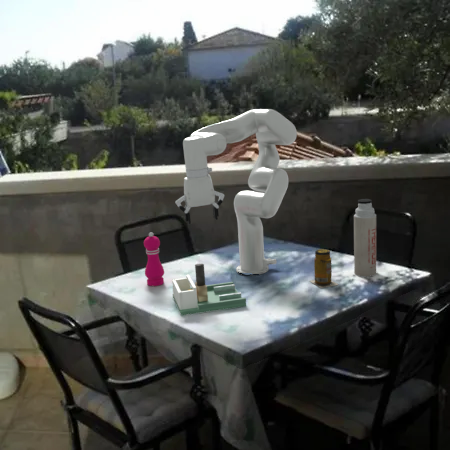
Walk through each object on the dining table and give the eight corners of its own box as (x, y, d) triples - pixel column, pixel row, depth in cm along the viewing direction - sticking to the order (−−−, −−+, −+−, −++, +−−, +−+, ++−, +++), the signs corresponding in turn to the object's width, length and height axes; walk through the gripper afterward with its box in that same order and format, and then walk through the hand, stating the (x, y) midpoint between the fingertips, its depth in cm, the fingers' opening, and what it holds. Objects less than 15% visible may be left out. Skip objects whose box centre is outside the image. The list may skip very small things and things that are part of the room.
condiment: (327, 278, 233) (326, 247, 230) (338, 285, 226) (338, 252, 223) (309, 281, 231) (308, 250, 228) (320, 288, 223) (319, 256, 220)
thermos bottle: (380, 273, 234) (380, 199, 227) (363, 278, 231) (363, 203, 224) (366, 268, 241) (366, 196, 234) (349, 272, 237) (349, 199, 231)
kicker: (204, 294, 220) (202, 261, 217) (207, 300, 214) (205, 266, 211) (195, 295, 219) (193, 262, 216) (199, 301, 213) (196, 268, 210)
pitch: (233, 288, 228) (232, 281, 227) (246, 306, 211) (245, 298, 210) (172, 297, 224) (172, 289, 223) (181, 315, 207) (180, 307, 206)
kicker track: (234, 289, 224) (234, 284, 223) (241, 298, 215) (241, 293, 214) (213, 292, 222) (213, 287, 222) (219, 301, 213) (219, 296, 213)
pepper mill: (162, 286, 235) (157, 234, 230) (143, 286, 236) (138, 235, 231) (167, 280, 242) (163, 229, 237) (149, 280, 243) (144, 229, 238)
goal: (190, 293, 223) (188, 274, 221) (197, 307, 209) (196, 287, 208) (173, 295, 221) (171, 276, 220) (179, 309, 208) (178, 289, 206)
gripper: (218, 167, 222) (223, 214, 227) (170, 174, 218) (176, 222, 223) (224, 171, 215) (228, 219, 220) (174, 178, 211) (180, 227, 216)
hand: (202, 220), depth 222 cm, fingers open, 9 cm apart
